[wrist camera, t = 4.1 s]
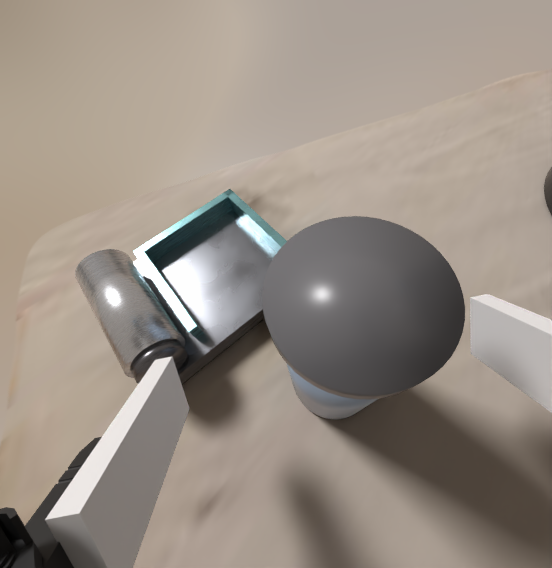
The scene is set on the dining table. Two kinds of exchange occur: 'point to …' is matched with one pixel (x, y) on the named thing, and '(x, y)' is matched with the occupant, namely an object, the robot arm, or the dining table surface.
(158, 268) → the motor mount
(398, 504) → the dining table surface
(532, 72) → the dining table surface
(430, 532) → the dining table surface
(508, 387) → the dining table surface
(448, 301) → the ball
